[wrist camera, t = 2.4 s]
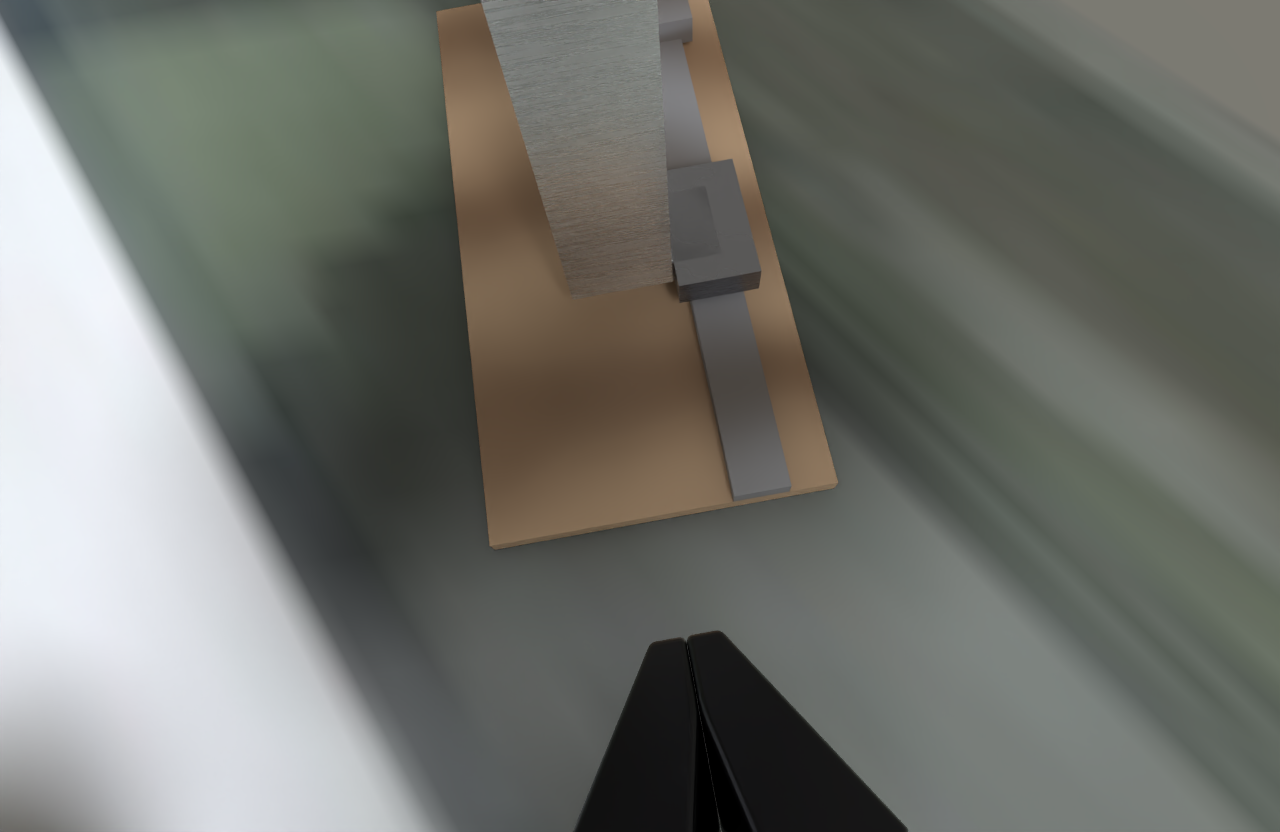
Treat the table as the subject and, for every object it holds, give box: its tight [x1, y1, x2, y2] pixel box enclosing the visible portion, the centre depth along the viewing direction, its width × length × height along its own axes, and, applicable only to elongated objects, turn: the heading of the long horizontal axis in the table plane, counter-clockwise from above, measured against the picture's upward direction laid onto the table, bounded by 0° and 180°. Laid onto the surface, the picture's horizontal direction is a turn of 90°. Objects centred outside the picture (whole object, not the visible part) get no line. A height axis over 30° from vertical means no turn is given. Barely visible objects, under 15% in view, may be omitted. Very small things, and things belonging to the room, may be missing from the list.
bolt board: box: [436, 0, 838, 550], centre depth 18 cm, size 20×10×16 cm, turn 10°
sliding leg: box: [481, 0, 762, 303], centre depth 16 cm, size 4×6×18 cm
